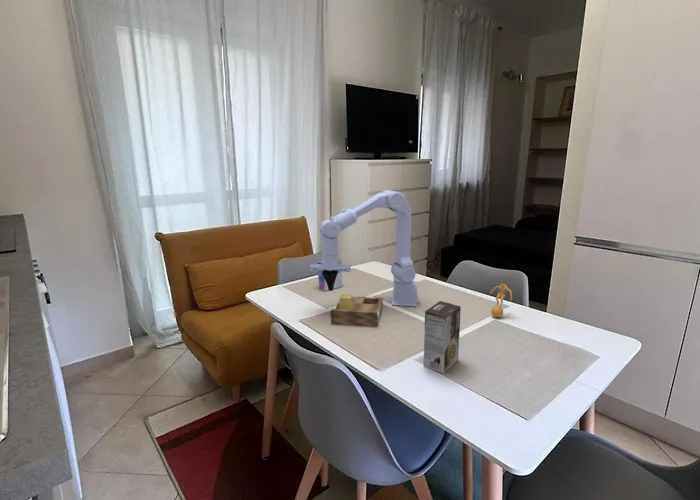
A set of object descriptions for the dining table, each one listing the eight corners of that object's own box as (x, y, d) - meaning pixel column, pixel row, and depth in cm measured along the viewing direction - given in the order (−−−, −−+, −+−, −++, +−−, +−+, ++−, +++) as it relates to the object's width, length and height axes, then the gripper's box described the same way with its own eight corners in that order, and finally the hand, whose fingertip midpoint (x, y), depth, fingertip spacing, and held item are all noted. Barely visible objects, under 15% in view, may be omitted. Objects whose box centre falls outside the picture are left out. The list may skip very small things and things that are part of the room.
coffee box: (437, 352, 108) (439, 300, 105) (458, 359, 104) (462, 305, 101) (422, 366, 102) (424, 310, 98) (444, 374, 98) (447, 316, 94)
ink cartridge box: (335, 283, 171) (335, 252, 168) (343, 286, 167) (342, 255, 164) (317, 288, 165) (316, 256, 162) (325, 291, 161) (324, 259, 158)
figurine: (483, 314, 134) (485, 282, 132) (493, 310, 138) (495, 279, 135) (504, 322, 128) (507, 288, 125) (514, 317, 131) (517, 285, 128)
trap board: (382, 303, 146) (382, 291, 145) (377, 326, 126) (377, 312, 125) (342, 301, 149) (342, 289, 148) (330, 324, 129) (330, 310, 127)
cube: (352, 305, 139) (352, 294, 138) (350, 309, 135) (350, 298, 134) (341, 304, 139) (341, 294, 138) (339, 308, 136) (339, 298, 135)
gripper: (352, 251, 136) (352, 287, 140) (313, 250, 139) (314, 285, 142) (348, 256, 130) (349, 293, 133) (308, 255, 132) (309, 291, 135)
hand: (331, 290), depth 137 cm, fingers closed
